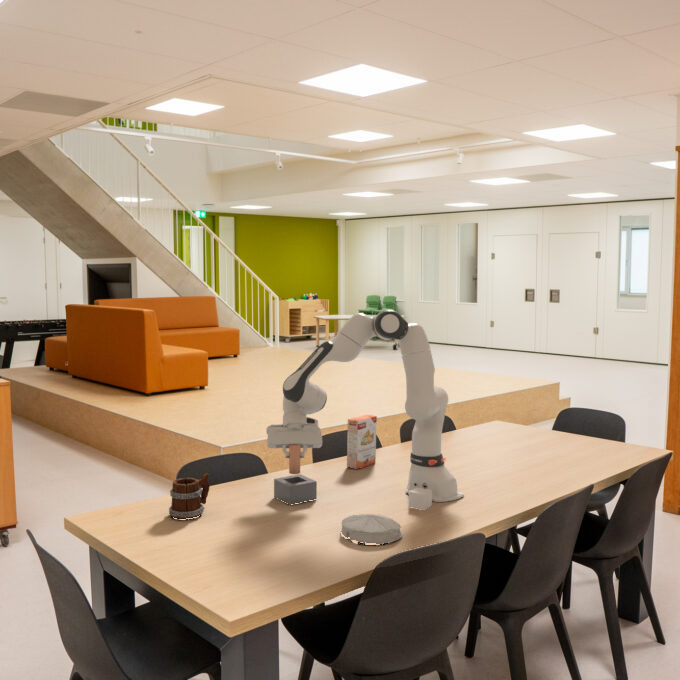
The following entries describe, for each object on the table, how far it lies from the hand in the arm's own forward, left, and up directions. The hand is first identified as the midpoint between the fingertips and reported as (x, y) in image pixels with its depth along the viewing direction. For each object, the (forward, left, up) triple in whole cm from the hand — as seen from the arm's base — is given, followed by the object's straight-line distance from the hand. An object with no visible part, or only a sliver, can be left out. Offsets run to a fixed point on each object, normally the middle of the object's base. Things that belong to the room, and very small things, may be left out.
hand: (294, 457), depth 256 cm
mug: (+6, +38, -16) cm, 41 cm away
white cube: (-32, -32, -16) cm, 48 cm away
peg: (+1, 0, -6) cm, 6 cm away
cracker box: (+23, -47, -16) cm, 55 cm away
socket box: (0, 0, -16) cm, 16 cm away
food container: (-43, -2, -16) cm, 46 cm away
